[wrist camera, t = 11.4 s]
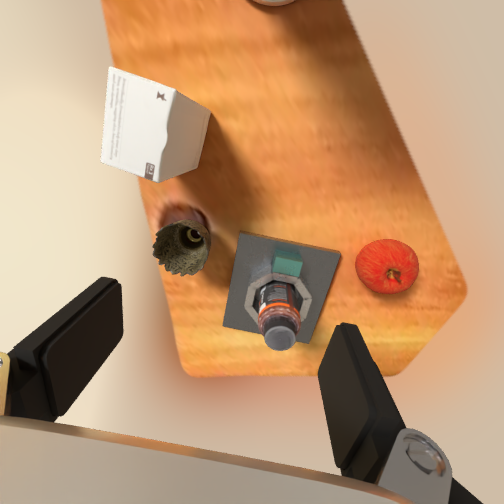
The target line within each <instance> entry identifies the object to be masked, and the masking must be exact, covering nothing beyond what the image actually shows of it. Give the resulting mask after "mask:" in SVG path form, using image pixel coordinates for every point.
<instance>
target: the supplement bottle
mask: <svg viewBox="0 0 504 504" xmlns="http://www.w3.org/2000/svg"><path fill="white" fill-rule="evenodd" d="M258 327H259V331H260V332H261V334H262V335H263V336H264V339H265V343H266V344H267V346H268V347H270V348H271V349H273V350H277V351H283V350H287V349H289V348H291V347H292V346H293V345H294V343H295V341H296V335H297V334H298V333H299V331H300V328H301V319H300V313H299V307H298V301H297V296H296V291H295V288H294V286H293V285H292V284H291V283H287V282H282V281H277V280H272V281H270V282H268V283H266V284H265V285H263V286H262V287H261V290H260V299H259V313H258Z"/></svg>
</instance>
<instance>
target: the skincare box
mask: <svg viewBox="0 0 504 504" xmlns="http://www.w3.org/2000/svg"><path fill="white" fill-rule="evenodd" d="M210 114H211V111H210V110H209V109H207V108H205V107H203V106H202V105H200V104H198V103H196V102H195V101H193V100H191V99H190V98H188V97H186V96H184V95H183V94H181V93H179V92H178V91H177V90H176V89H173V88H171V87H168V86H165V85H163V84H160V83H157V82H155V81H152V80H149V79H146V78H143V77H140V76H137V75H135V74H132V73H129V72H126V71H123V70H120V69H117V68H114V67H109V71H108V83H107V94H106V105H105V116H104V128H103V140H102V152H101V163H103V164H106V165H109V166H112V167H115V168H118V169H120V170H124V171H127V172H129V173H132V174H134V175H137V176H140V177H143V178H145V179H148V180H151V181H154V182H156V183H160V182H162V181H165V180H168V179H170V178H173V177H175V176H178V175H181V174H183V173H186V172H188V171H191V170H194V169H196V168H197V167H198V164H199V160H200V156H201V152H202V148H203V144H204V140H205V136H206V132H207V127H208V122H209V118H210Z"/></svg>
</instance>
